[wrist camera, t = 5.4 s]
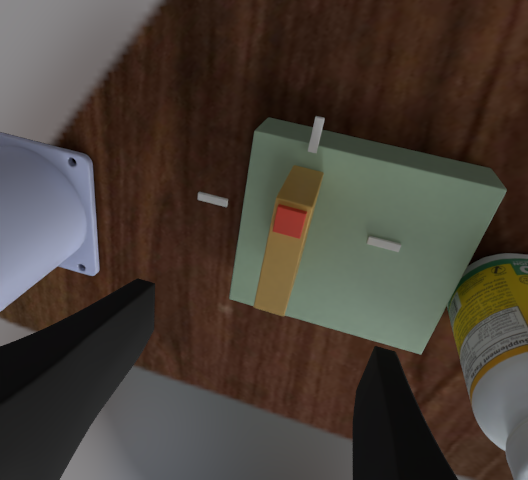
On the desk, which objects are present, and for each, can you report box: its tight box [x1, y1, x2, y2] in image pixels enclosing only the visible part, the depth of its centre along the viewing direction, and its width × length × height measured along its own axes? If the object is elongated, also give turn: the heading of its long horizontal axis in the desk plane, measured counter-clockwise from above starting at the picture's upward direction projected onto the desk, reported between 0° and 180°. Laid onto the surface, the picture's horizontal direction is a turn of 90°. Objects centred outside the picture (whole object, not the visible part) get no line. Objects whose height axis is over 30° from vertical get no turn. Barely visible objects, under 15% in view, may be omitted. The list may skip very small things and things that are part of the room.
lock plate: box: [198, 116, 507, 354], centre depth 19 cm, size 12×10×3 cm
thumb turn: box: [254, 165, 324, 316], centre depth 16 cm, size 5×1×4 cm, turn 169°
